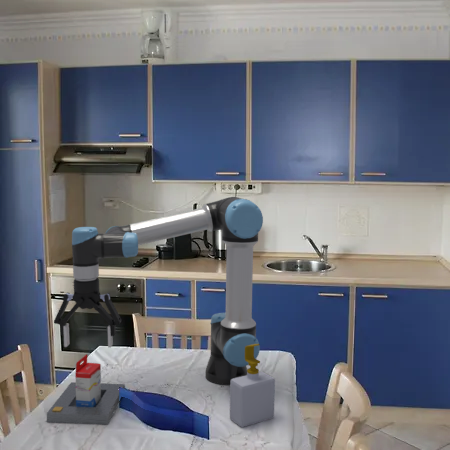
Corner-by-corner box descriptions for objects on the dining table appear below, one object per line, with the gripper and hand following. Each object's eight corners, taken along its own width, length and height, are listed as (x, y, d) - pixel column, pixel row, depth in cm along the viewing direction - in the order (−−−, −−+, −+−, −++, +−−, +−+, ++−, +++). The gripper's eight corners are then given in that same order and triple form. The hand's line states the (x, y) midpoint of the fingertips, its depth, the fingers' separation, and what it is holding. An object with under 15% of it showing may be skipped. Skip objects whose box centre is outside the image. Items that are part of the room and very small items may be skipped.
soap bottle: (241, 428, 159) (242, 350, 156) (228, 419, 164) (230, 343, 161) (274, 418, 165) (276, 343, 162) (261, 409, 171) (263, 337, 168)
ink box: (90, 410, 166) (90, 364, 164) (75, 409, 167) (74, 363, 165) (101, 398, 174) (101, 354, 173) (86, 397, 175) (86, 353, 173)
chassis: (124, 392, 181) (124, 383, 181) (107, 424, 160) (107, 414, 159) (71, 390, 182) (71, 381, 182) (46, 422, 160) (46, 412, 160)
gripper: (129, 275, 169) (131, 342, 172) (50, 275, 170) (53, 340, 173) (124, 281, 161) (126, 350, 164) (41, 280, 163) (44, 349, 165)
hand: (88, 345), depth 168 cm, fingers open, 13 cm apart
